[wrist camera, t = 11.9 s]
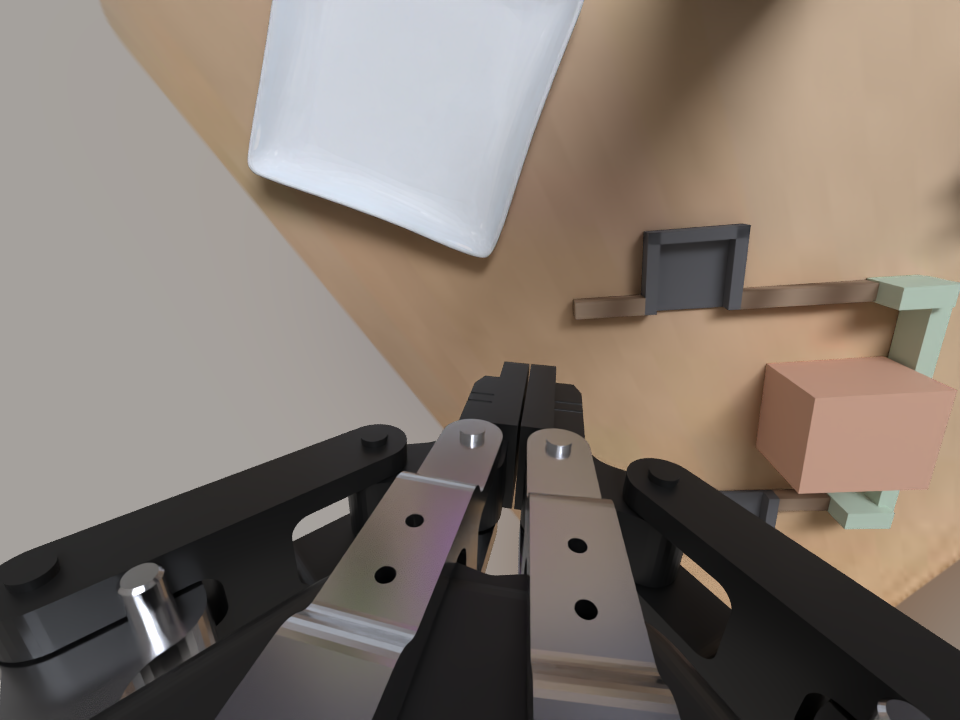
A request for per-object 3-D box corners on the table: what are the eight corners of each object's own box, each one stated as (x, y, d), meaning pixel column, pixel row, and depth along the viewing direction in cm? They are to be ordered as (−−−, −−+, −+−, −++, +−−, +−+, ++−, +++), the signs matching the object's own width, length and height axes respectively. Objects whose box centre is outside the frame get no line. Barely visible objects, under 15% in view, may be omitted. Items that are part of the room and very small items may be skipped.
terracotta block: (755, 446, 45) (798, 493, 38) (765, 362, 42) (815, 398, 35) (863, 441, 44) (928, 489, 37) (882, 355, 41) (957, 390, 34)
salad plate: (591, -19, 33) (599, -41, 30) (491, 257, 41) (489, 263, 38) (313, -133, 32) (291, -169, 29) (265, 173, 40) (243, 172, 36)
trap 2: (640, 310, 41) (644, 315, 40) (643, 231, 39) (648, 233, 37) (732, 305, 40) (740, 309, 39) (742, 223, 38) (750, 225, 36)
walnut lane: (576, 505, 49) (577, 514, 48) (573, 299, 41) (575, 303, 40) (852, 500, 46) (862, 509, 45) (907, 277, 38) (922, 280, 37)
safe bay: (818, 501, 47) (844, 529, 43) (866, 278, 38) (904, 287, 35) (867, 500, 46) (898, 528, 42) (927, 274, 38) (972, 283, 34)
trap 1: (686, 544, 50) (691, 554, 48) (691, 491, 47) (696, 500, 46) (762, 543, 49) (770, 553, 48) (772, 489, 47) (779, 499, 45)
